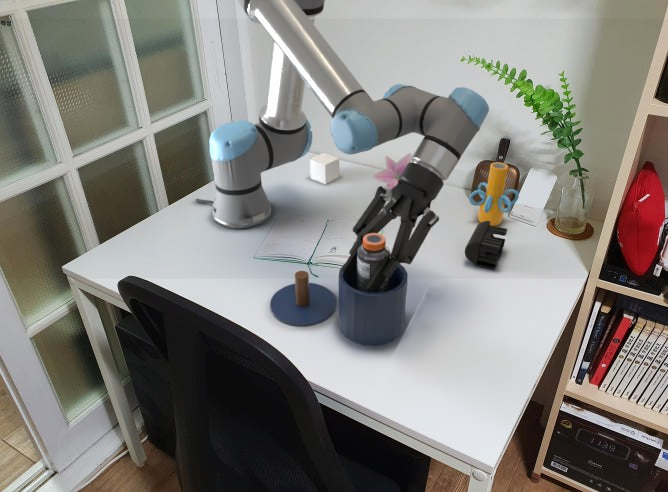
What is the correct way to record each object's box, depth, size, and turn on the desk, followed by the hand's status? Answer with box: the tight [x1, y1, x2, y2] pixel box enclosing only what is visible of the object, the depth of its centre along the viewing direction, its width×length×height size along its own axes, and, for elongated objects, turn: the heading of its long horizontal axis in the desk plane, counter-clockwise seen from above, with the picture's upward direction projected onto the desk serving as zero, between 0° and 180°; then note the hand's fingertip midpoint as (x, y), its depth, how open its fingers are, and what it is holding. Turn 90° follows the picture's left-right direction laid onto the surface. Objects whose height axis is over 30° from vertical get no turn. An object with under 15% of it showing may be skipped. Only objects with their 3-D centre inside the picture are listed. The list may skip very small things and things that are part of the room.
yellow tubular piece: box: [468, 161, 520, 227], centre depth 138 cm, size 12×10×15 cm
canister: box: [338, 263, 409, 347], centre depth 107 cm, size 13×13×12 cm
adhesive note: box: [309, 152, 340, 185], centre depth 162 cm, size 6×6×6 cm
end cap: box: [464, 221, 508, 271], centre depth 128 cm, size 10×7×7 cm
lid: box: [269, 270, 337, 327], centre depth 114 cm, size 14×14×8 cm
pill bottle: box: [357, 233, 391, 293], centre depth 102 cm, size 6×6×11 cm
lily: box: [372, 152, 412, 189], centre depth 155 cm, size 12×12×10 cm
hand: (358, 281), depth 102 cm, fingers closed on pill bottle, 6 cm apart
